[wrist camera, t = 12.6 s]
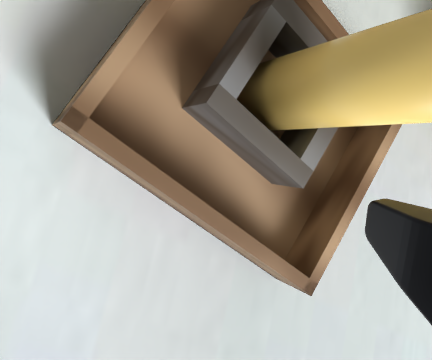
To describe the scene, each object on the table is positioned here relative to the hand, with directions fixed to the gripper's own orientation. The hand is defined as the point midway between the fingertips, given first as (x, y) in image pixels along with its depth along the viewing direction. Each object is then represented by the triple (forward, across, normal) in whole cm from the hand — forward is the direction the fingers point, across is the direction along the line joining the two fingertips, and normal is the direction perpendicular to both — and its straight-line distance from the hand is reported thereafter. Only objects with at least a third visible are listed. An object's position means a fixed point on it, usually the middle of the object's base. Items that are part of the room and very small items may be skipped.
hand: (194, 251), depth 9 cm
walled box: (+15, -6, +2) cm, 17 cm away
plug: (+15, -8, 0) cm, 17 cm away
